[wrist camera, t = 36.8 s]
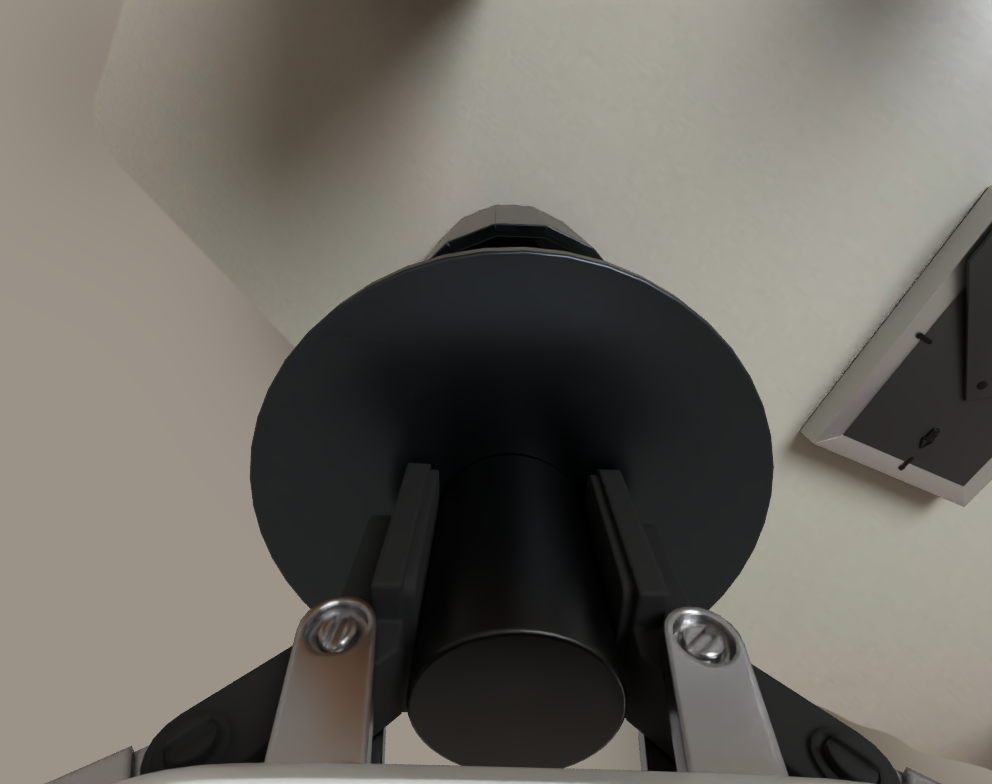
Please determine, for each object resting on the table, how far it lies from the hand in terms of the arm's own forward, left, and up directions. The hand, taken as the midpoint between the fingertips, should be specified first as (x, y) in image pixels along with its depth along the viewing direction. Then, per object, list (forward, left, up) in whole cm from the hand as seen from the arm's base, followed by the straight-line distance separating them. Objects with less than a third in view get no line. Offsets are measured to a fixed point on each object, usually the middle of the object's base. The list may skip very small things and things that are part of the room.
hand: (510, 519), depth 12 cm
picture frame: (+37, -4, -27) cm, 46 cm away
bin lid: (0, 0, -1) cm, 1 cm away
